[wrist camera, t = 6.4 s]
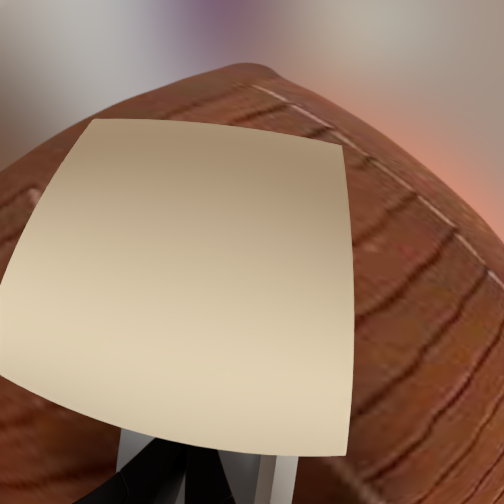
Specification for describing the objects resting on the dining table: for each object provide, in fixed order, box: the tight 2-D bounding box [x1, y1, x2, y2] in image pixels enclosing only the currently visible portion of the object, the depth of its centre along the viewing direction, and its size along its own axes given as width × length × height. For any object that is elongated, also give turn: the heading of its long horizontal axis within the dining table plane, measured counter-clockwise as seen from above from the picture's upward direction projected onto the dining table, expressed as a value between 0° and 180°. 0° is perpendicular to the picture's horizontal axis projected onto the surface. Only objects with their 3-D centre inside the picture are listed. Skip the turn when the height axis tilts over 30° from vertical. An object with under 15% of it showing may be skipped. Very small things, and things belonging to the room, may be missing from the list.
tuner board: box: [116, 428, 298, 504], centre depth 10 cm, size 17×8×6 cm, turn 173°
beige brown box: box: [0, 119, 354, 456], centre depth 8 cm, size 5×6×12 cm
